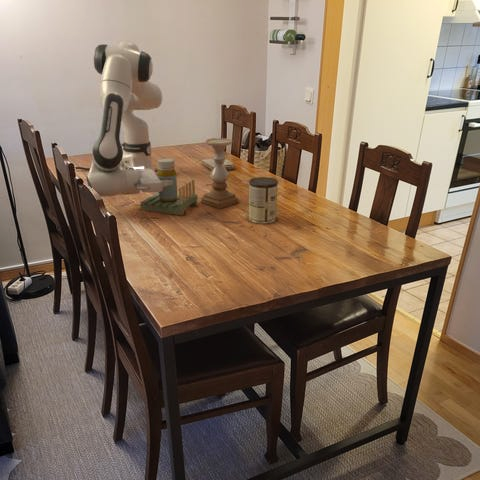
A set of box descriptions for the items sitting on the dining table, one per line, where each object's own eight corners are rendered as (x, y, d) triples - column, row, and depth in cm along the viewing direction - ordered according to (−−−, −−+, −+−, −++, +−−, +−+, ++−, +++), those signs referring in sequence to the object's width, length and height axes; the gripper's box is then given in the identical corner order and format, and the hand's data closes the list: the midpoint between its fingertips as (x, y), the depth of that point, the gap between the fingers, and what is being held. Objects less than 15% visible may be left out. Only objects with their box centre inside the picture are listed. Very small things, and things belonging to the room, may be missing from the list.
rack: (139, 209, 185) (137, 183, 180) (157, 199, 196) (155, 174, 191) (181, 215, 180) (180, 188, 174) (197, 204, 191) (196, 179, 186)
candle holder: (200, 202, 193) (198, 140, 181) (219, 196, 200) (219, 136, 188) (219, 208, 187) (219, 144, 175) (238, 202, 194) (239, 140, 182)
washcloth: (213, 172, 234) (213, 165, 232) (200, 164, 248) (200, 157, 246) (235, 169, 238) (236, 163, 237) (221, 161, 252) (221, 155, 250)
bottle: (179, 197, 189) (177, 158, 181) (175, 202, 183) (173, 162, 175) (161, 196, 190) (158, 157, 182) (157, 202, 184) (154, 162, 176)
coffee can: (253, 213, 183) (254, 175, 176) (279, 216, 180) (281, 178, 173) (244, 221, 175) (245, 183, 168) (271, 225, 172) (273, 186, 165)
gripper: (136, 180, 169) (175, 177, 173) (128, 166, 185) (163, 164, 189) (138, 198, 172) (176, 194, 176) (129, 183, 188) (164, 180, 192)
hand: (169, 178), depth 183 cm, fingers open, 8 cm apart
